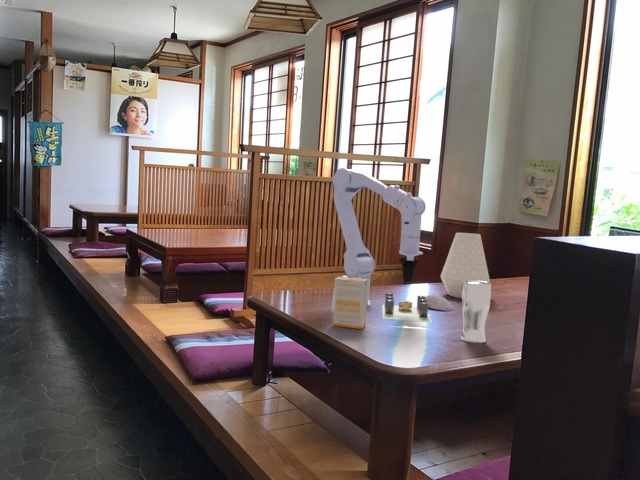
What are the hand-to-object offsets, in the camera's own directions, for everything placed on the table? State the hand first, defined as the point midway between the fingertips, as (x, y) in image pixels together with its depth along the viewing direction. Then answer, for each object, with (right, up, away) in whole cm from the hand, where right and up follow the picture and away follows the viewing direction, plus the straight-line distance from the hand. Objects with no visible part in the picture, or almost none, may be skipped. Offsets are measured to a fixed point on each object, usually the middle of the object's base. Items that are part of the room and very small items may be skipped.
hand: (407, 281), depth 167 cm
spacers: (0, -9, +1) cm, 9 cm away
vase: (+26, -8, +36) cm, 46 cm away
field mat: (-1, -10, -1) cm, 10 cm away
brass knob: (0, -9, +3) cm, 10 cm away
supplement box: (-19, -11, -18) cm, 28 cm away
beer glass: (+13, -13, -27) cm, 32 cm away
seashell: (+11, -10, +10) cm, 18 cm away
